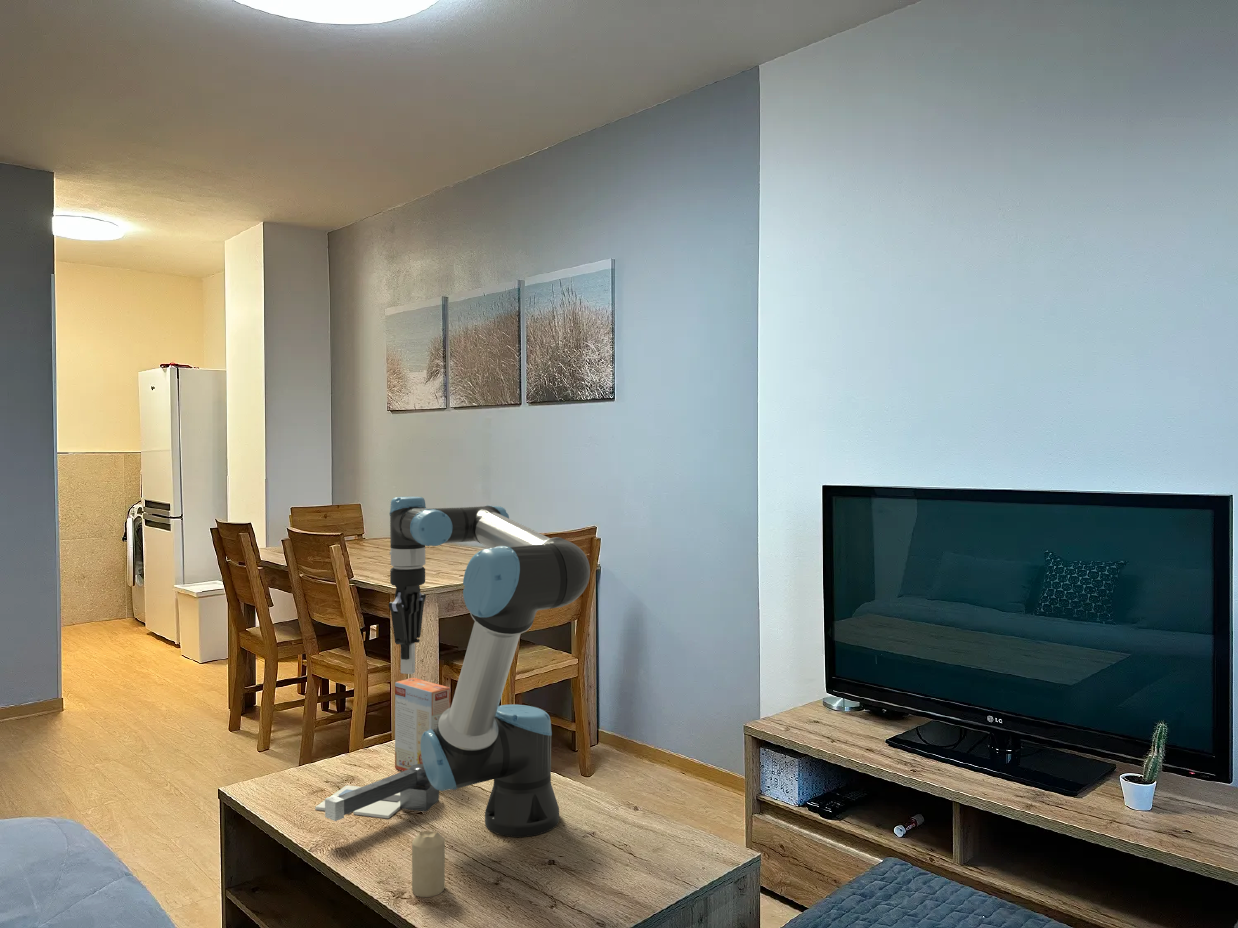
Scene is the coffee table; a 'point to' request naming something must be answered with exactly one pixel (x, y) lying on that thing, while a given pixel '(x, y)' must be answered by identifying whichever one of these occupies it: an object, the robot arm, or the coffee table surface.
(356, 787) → the label plate
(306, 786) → the coffee table surface
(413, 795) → the pivot post
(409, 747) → the cracker box
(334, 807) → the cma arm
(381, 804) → the label plate
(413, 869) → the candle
